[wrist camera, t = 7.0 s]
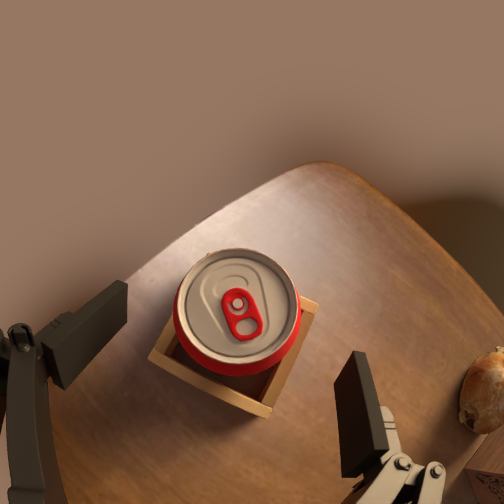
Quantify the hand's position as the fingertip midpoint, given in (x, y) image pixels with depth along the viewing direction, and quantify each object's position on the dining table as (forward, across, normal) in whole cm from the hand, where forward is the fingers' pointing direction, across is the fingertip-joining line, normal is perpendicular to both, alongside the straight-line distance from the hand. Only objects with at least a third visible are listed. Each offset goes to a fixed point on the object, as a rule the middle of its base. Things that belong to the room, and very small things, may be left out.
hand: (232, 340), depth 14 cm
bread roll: (+6, +30, -6) cm, 31 cm away
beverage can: (+7, 0, -5) cm, 9 cm away
